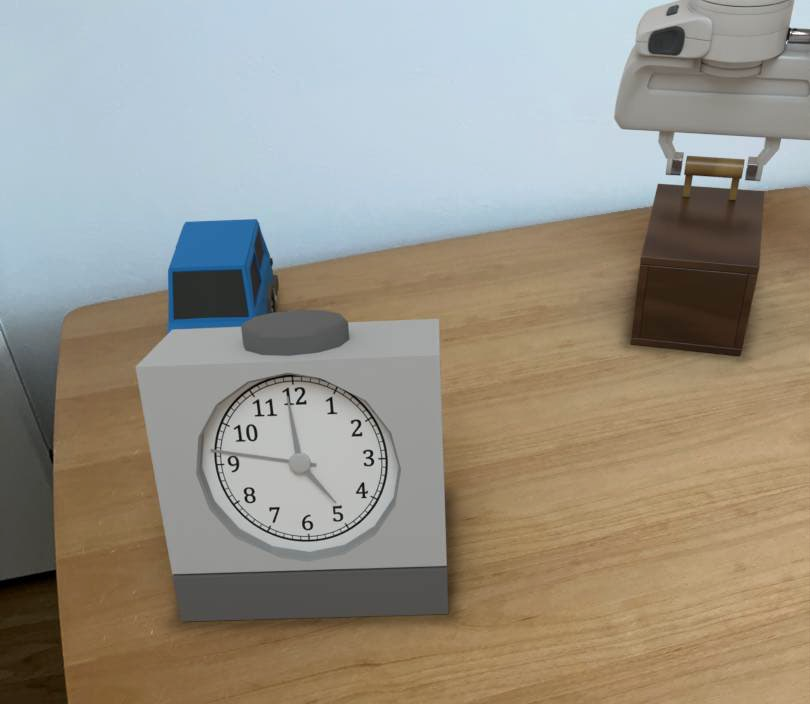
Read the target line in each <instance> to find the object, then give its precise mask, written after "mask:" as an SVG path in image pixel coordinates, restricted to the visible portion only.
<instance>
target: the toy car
mask: <svg viewBox="0 0 810 704" xmlns="http://www.w3.org/2000/svg"><path fill="white" fill-rule="evenodd" d="M273 264H274V260H273V257H271V255H270V252H269V249H268V246H267V243H266V240H265V238H264V236H263V233H262V228H261V225H260V222H259V220H258V219H257V218H250V219H249V218H247V219H221V220H199V221H198V220H194V221H185V222H184V224H183V225H182V228H181V231H180V233H179V236H178V239H177V242H176V244H175V249H174V251H173V255H172V257H171V260H170V263H169V266H168V269H167V291H168V293H167V294H168V297H167V298H168V300H167V301H168V309H167V310H168V311H167V313H168V314H167V316H168V317H167V328H166V335H167V334H168V333H169V332H170V331H171V330H174V329H199V328H223V327H241V326H242V325H243V323H245V322H247V321H248V320H250V319H252V318H254V317H257V316H261V315H266V314H270V313H274V312H277V308H276V302H277V300H278V294H279V289H280V288H279V287H280V286H279V282H280V281H279V277H278V274H274V270H273Z"/></svg>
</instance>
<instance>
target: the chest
mask: <svg viewBox="0 0 810 704" xmlns="http://www.w3.org/2000/svg"><path fill="white" fill-rule="evenodd" d="M758 276H759V273H758V274H747V273H736V272H724V271H713V270H702V269H691V268H680V267H669V266H657V265H646V264H640V263H639V270H638V277H637V279H638V280H637V288H636V294H635V302H634V311H633V320H632V326H631V327H632V328H631V336H630V345H633V346H634V345H635V346H643V347H652V348H662V349H671V350H678V351H679V350H680V351H689V352H700V353H709V354H717V355H727V356H736V357H741V355H742V353H743V352H742V350H743V346H744V342H745V337H746V333H747V328H748V323H749V318H750V315H751V314H750V313H751V310H752V306H753V305H752V304H753V299H754V296H755V291H756V286H757V281H758Z"/></svg>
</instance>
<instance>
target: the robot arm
mask: <svg viewBox="0 0 810 704" xmlns="http://www.w3.org/2000/svg"><path fill="white" fill-rule="evenodd" d="M794 6H795V0H675V1H672V2H668V3H665V4H661V5H658V6H655V7H651V8H649V9H648V10H646V11H645V12H644V14H643V15H642V17H641V18H640V20H639V21H638V24H637V27H636V32H635V45H633V47H632V48H631V50H630V53H629V55H628V57H627V59H626V62H625V65H624V68H623V72H622V75H621V78H620V83H619V87H618V90H617V95H616V99H615V105H614V114H613V119H614V121H615V122H616V124H617V126H618V127H619V128H620V129H621V130H629V131H645V132H647V131H648V132H658V139H657V141H658V145H659V146H660V149H661V151H662V153H663V155H664V157H665V159H666V168H665V175H666V176H680V177H681V174H682V170H683V162H684V155H685V152H683V151H676V149H675V146H674V144H673V142H674V137H675V134H676V133H681V134H697V135H711V136H713V135H714V136H732V137H749V138H762V139H763V138H764V146H763V149H762V150H761V151H760V153H759V154H758V155H757V156H748V158H747V164H746V170H745V175H744V181H749V182H750V181H751V182H761V180H762V177H763V176H762V175H763V170H764V166H766V165H767V164H768V162H769V161H770V160H771V159H772V158H773V157H774V156H775V154H776V153H778V151H779V150H780V146H781V143H782V140H783V139H784V140H798V141H799V140H800V141H810V28H801V27H790V24H791V20H792V15H793V9H794Z"/></svg>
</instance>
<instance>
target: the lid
mask: <svg viewBox="0 0 810 704" xmlns="http://www.w3.org/2000/svg"><path fill="white" fill-rule="evenodd" d="M745 160H746V159H744V158H732V157H717V156H716V157H715V156H713V157H712V156H700V155H686V159H685V163H684V172H683V175H684V176H685V177H684V182H683V185H682V184H668V183H657V186H656V191H655V195H654V198H653V203H652V207H651V211H650V216H649V220H648V224H647V227H646V228H647V229H646V234H645V237H644V241H643V246H642V250H641V255H640V261H639V265H640V264H646V265H657V266H669V267H680V268H691V269H702V270H713V271H724V272H736V273H747V274H758V275H759V272H760V265H761V251H762V235H763V222H764V221H763V220H764V206H765V190H757V189H756V190H755V189H754V190H753V189H740V188H739V185H740V180H741V179H742V177H743V173H744V169H745V168H744V167H745V162H746V161H745ZM693 176H694V177H709V178H721V179H722V178H723V179H731V182H730V187H729V188H728V187H727V188H725V187H712V186H699V185H692V184H693V178H694V177H693Z"/></svg>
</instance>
